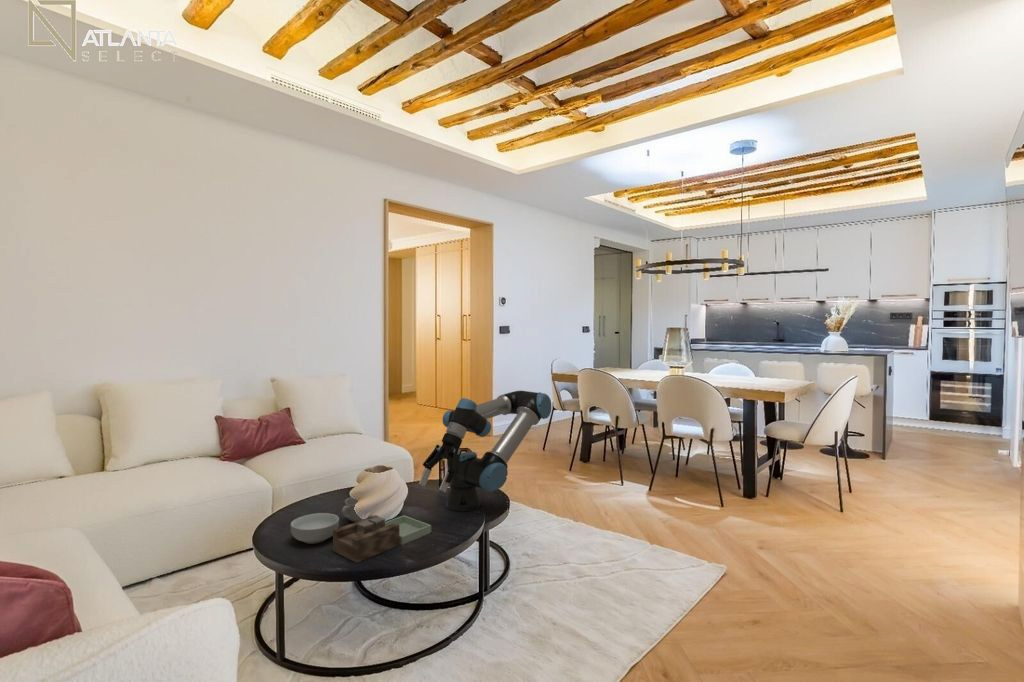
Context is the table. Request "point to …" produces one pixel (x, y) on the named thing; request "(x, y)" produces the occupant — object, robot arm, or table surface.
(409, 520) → the tray
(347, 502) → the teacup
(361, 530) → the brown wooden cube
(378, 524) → the grey cube
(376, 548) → the slot block
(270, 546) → the table surface
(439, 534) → the table surface
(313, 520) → the cereal bowl
